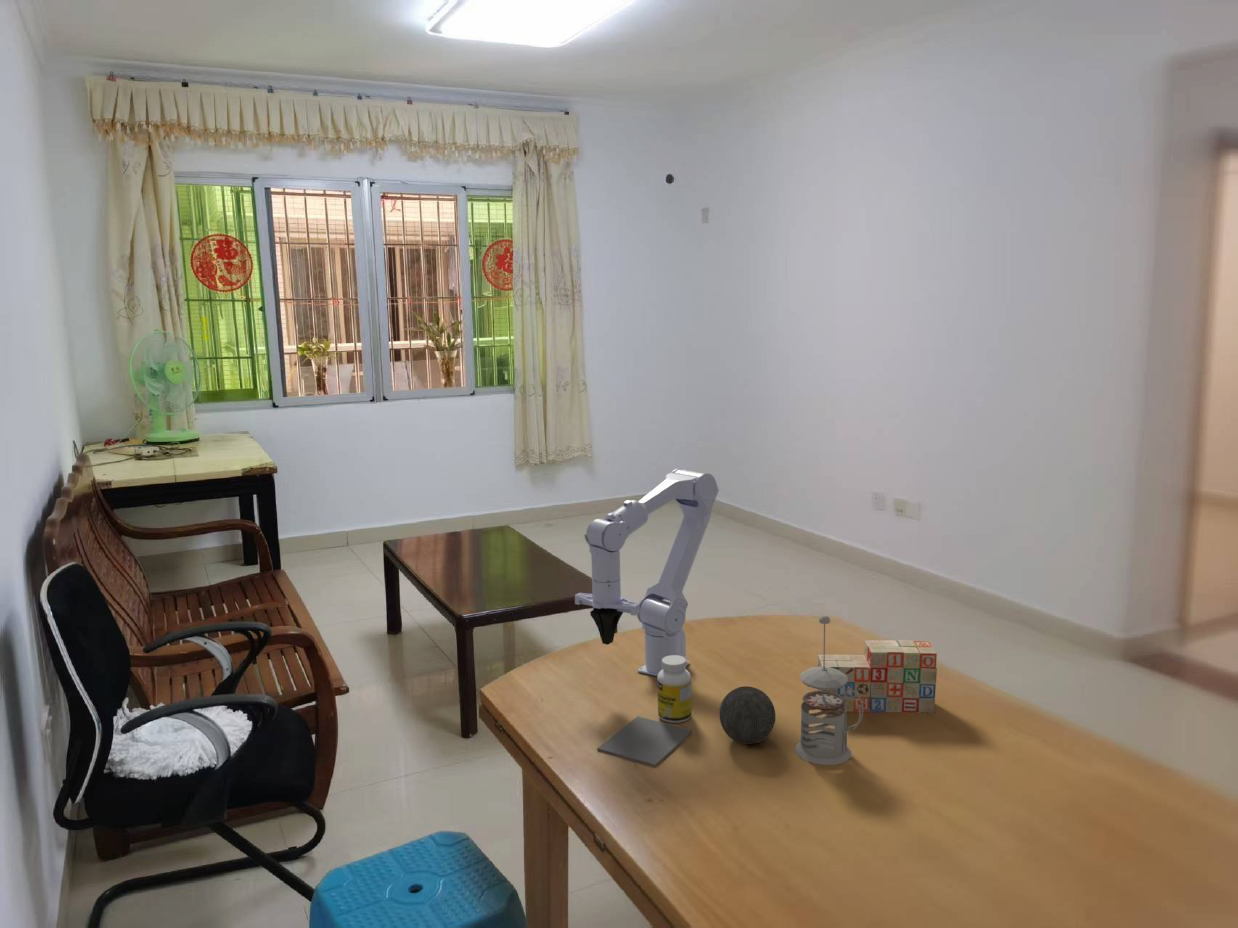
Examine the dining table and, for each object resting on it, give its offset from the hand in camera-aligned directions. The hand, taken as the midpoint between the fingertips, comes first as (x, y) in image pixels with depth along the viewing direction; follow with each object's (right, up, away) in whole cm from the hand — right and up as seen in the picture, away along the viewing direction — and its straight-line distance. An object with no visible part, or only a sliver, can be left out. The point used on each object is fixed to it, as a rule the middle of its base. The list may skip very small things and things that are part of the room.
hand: (607, 642), depth 182 cm
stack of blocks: (+52, -11, -8) cm, 54 cm away
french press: (+39, -14, -26) cm, 49 cm away
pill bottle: (+13, -12, -10) cm, 21 cm away
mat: (+7, -14, -20) cm, 25 cm away
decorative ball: (+26, -14, -21) cm, 36 cm away
